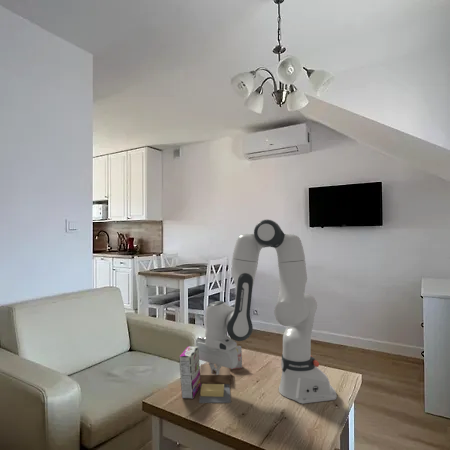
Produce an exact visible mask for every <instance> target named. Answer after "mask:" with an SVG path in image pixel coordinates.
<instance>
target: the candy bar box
mask: <svg viewBox="0 0 450 450" xmlns="http://www.w3.org/2000/svg"><path fill="white" fill-rule="evenodd" d="M178 359H179V373H180V374H179V375H180V385H181V386H180V389H181V390H180V391H181V398H182V399H192V400H193V399H194V398H195V396H196V395H197V393H198V392H199V389H201V379H200V370H201V365H200V360H199V351H198V347H196V345H195V346H193V345H191V346H190V345H189V346H187V347H186V348H185V349H184V350H183V352H181V354H180V355H179V357H178Z"/></svg>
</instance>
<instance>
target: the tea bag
mask: <svg viewBox="0 0 450 450" xmlns="http://www.w3.org/2000/svg"><path fill="white" fill-rule="evenodd" d="M235 348H236V350H237V354H238V365H237V366H236V367H235V368H233V369H232V370H239V369H242V368H243V354H242V353H243V351H242V346H241V345H236V347H235Z"/></svg>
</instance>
